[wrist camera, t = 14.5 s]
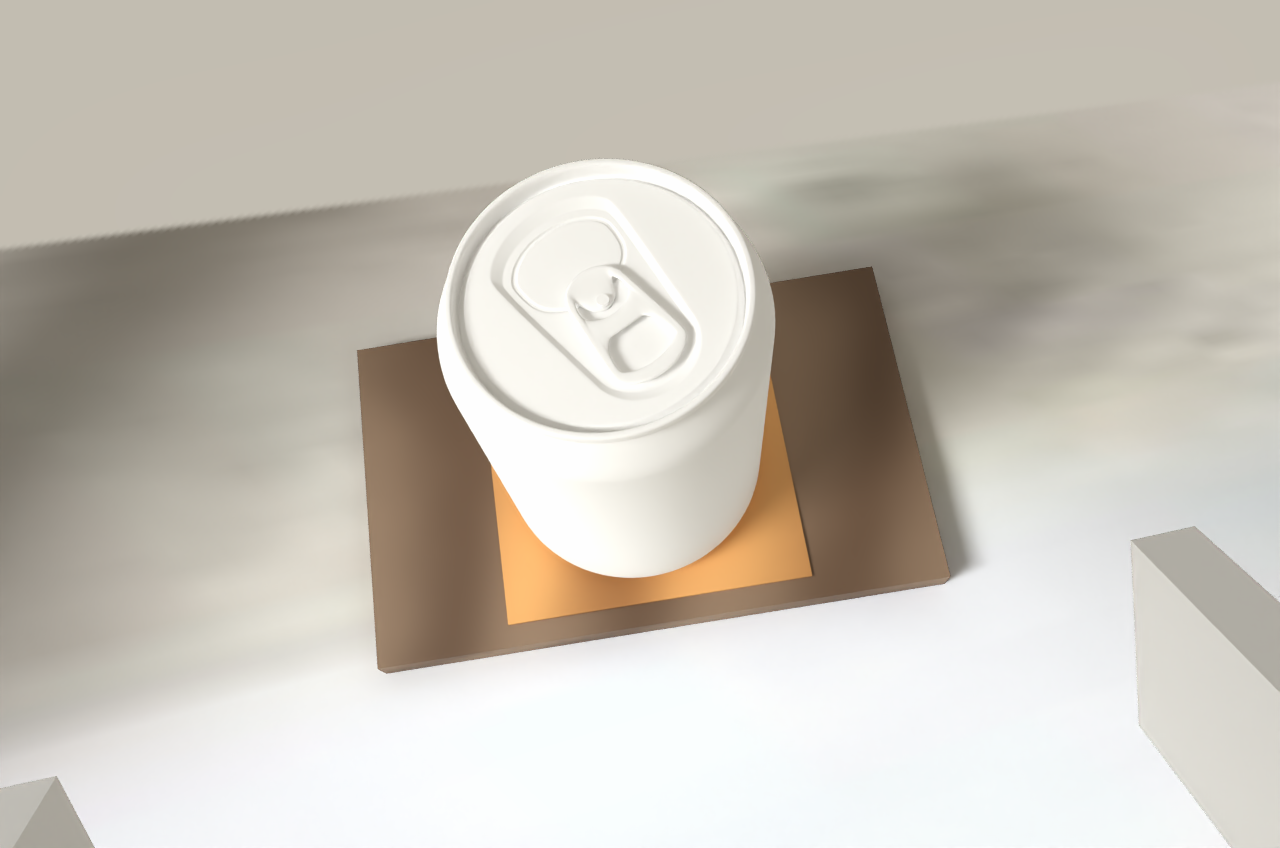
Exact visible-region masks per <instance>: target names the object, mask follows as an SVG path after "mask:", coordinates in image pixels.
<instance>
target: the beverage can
mask: <svg viewBox="0 0 1280 848" xmlns="http://www.w3.org/2000/svg"><path fill="white" fill-rule="evenodd" d="M774 337H775V308H774V300H773V295H772V290H771V286H770V282H769V279H768V276H767V273H766V270H765V268H764V265H763V263H762V261H761V259H760V257H759V255H758V253H757V251H756V249H755V248H754V246H753V244H752V243H751V241H750V240H749V239H748V237H747V236H746V234H745V233H744V232H743V231H742V229H741V228H740V227H739V226H738V225H737V223H736V222H735V221H734V220H733V219H732V218H731V217H730V215H729V214H728V213H727V212H726V210H725V209H724V208H723V207H722V206H721V205H720V204H719V203H718V202H717V201H716V200H715V199H714V198H713V197H712V196H711V195H709V194H708V193H707V192H706V191H705V190H703V189H702V188H700V187H699V186H698V185H696V184H695V183H693V182H691V181H690V180H688V179H686V178H684V177H683V176H681V175H679V174H676V173H674V172H672V171H670V170H667V169H664V168H662V167H659V166H655V165H652V164H648V163H644V162H639V161H633V160H626V159H608V158H604V159H588V160H581V161H575V162H570V163H566V164H562V165H558V166H555V167H552V168H549V169H546V170H544V171H541V172H539V173H536V174H534V175H532V176H530V177H528V178H526V179H524V180H522V181H520V182H519V183H517V184H515V185H514V186H512V187H511V188H509V189H508V190H506V191H505V192H504V193H502V194H501V195H500V196H499V197H497V198H496V199H495V200H494V201H493V202H492V203H491V204H489V205H488V206H487V207H486V208H485V209H484V210H483V211H482V213H481V214H480V215H479V216H478V217H477V218H476V220H475V221H474V222H473V223H472V225H471V226H470V227H469V229H468V230H467V232H466V233H465V235H464V237H463V238H462V240H461V242H460V244H459V246H458V248H457V250H456V252H455V254H454V257H453V259H452V262H451V265H450V268H449V272H448V276H447V279H446V282H445V285H444V288H443V292H442V296H441V300H440V305H439V310H438V319H437V345H438V354H439V360H440V365H441V369H442V373H443V376H444V379H445V382H446V384H447V387H448V389H449V392H450V394H451V396H452V398H453V400H454V402H455V404H456V405H457V407H458V409H459V410H460V412H461V414H462V416H463V417H464V419H465V421H466V422H467V424H468V426H469V427H470V429H471V431H472V432H473V434H474V436H475V438H476V439H477V441H478V443H479V444H480V446H481V448H482V449H483V451H484V453H485V454H486V456H487V458H488V460H489V461H490V463H491V465H492V466H493V468H494V470H495V471H496V473H497V475H498V476H499V478H500V480H501V481H502V483H503V485H504V487H505V488H506V490H507V492H508V493H509V495H510V497H511V498H512V500H513V502H514V503H515V505H516V507H517V508H518V510H519V512H520V514H521V515H522V517H523V519H524V520H525V522H526V523H527V525H528V526H529V527H530V529H531V530H532V531H533V533H534V534H535V535H536V536H537V537H538V538H539V539H540V541H541V542H542V543H543V544H545V545H546V546H547V547H548V548H549V549H550V550H552V551H553V552H554V553H555V554H557V555H558V556H560V557H561V558H563V559H564V560H566V561H568V562H570V563H572V564H574V565H576V566H578V567H580V568H583V569H585V570H588V571H591V572H594V573H597V574H602V575H606V576H612V577H622V578H640V577H650V576H656V575H661V574H664V573H668V572H671V571H674V570H677V569H680V568H682V567H685V566H687V565H689V564H691V563H693V562H695V561H697V560H698V559H700V558H702V557H703V556H705V555H706V554H708V553H709V552H710V551H712V550H713V549H714V548H715V547H717V546H718V545H719V544H720V543H721V542H722V541H723V540H724V539H725V538H726V537H727V536H728V535H729V534H730V533H731V532H732V530H733V529H734V528H735V527H736V525H737V524H738V523H739V521H740V520H741V518H742V516H743V515H744V513H745V511H746V509H747V507H748V505H749V503H750V501H751V498H752V496H753V493H754V490H755V487H756V483H757V479H758V473H759V466H760V458H761V450H762V441H763V432H764V424H765V415H766V407H767V398H768V389H769V381H770V372H771V364H772V355H773V347H774Z"/></svg>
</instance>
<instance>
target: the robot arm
mask: <svg viewBox="0 0 1280 848" xmlns="http://www.w3.org/2000/svg"><path fill="white" fill-rule="evenodd" d="M1131 558H1132V581H1133V604H1134V627H1135V649H1136V672H1137V695H1138V718H1139V726H1140V728H1141V729H1142V730H1143V732H1144V733H1145V734H1146V736H1147V737H1148V738H1149V740H1150V741H1151V742H1152V744H1153V745H1154V746H1155V748H1156V749H1157V750H1158V752H1159V753H1160V754H1161V756H1162V757H1163V758H1164V760H1165V761H1166V762H1167V763H1168V765H1169V766H1170V767H1171V769H1172V770H1173V771H1174V773H1175V774H1176V775H1177V777H1178V778H1179V779H1180V781H1181V782H1182V783H1183V785H1184V786H1185V787H1186V789H1187V790H1188V791H1189V793H1190V794H1191V795H1192V797H1193V798H1194V799H1195V801H1196V802H1197V803H1198V805H1199V806H1200V807H1201V809H1202V810H1203V811H1204V813H1205V814H1206V815H1207V816H1208V818H1209V819H1210V820H1211V822H1212V823H1213V824H1214V826H1215V827H1216V828H1217V830H1218V831H1219V832H1220V834H1221V835H1222V836H1223V838H1224V839H1225V840H1226V842H1227V843H1228V844H1229V846H1230V847H1231V848H1280V602H1278V601H1277V600H1276V599H1275V598H1274V597H1273V596H1272V595H1271V594H1270V593H1268V592H1267V591H1266V590H1265V589H1264V588H1263V587H1262V586H1261V585H1260V584H1258V583H1257V582H1256V581H1255V580H1254V579H1253V578H1252V577H1251V576H1249V575H1248V574H1247V573H1246V572H1245V571H1244V570H1243V569H1242V568H1241V567H1239V566H1238V565H1237V564H1236V563H1235V562H1234V561H1233V560H1232V559H1230V558H1229V557H1228V556H1227V555H1226V554H1225V553H1224V552H1223V551H1222V550H1220V549H1219V548H1218V547H1217V546H1216V545H1215V544H1214V543H1213V542H1212V541H1210V540H1209V539H1208V538H1207V537H1206V536H1205V535H1204V534H1203V533H1201V532H1200V531H1199V530H1198V529H1197V528H1196V527H1195V526H1194V527H1190V528H1185V529H1181V530H1176V531H1171V532H1167V533H1162V534H1158V535H1153V536H1149V537H1144V538H1140V539H1135V540H1131ZM0 848H95V847H94V846H93V844H92V842H91V840H90V838H89V836H88V834H87V832H86V830H85V829H84V827H83V825H82V823H81V821H80V819H79V817H78V815H77V814H76V812H75V810H74V808H73V806H72V804H71V802H70V800H69V798H68V797H67V795H66V793H65V791H64V789H63V787H62V785H61V783H60V781H59V780H58V778H57V776H55V777H51V778H46V779H41V780H37V781H32V782H28V783H23V784H19V785H14V786H10V787H5V788H0Z"/></svg>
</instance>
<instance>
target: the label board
mask: <svg viewBox="0 0 1280 848" xmlns="http://www.w3.org/2000/svg"><path fill="white" fill-rule="evenodd" d="M770 286H771V290H772V295H773V300H774V308H775V337H774V347H773V355H772V364H771V372H770V381H769V389H768V398H767V407H766V415H765V424H764V432H763V441H762V450H761V458H760V466H759V473H758V479H757V483H756V487H755V490H754V493H753V496H752V498H751V501H750V503H749V505H748V507H747V509H746V511H745V513H744V515H743V516H742V518H741V520H740V521H739V523H738V524H737V525H736V527H735V528H734V529H733V530H732V532H731V533H730V534H729V535H728V536H727V537H726V538H725V539H724V540H723V541H722V542H721V543H720V544H719V545H718V546H717V547H715V548H714V549H713V550H712V551H710V552H709V553H708V554H706V555H705V556H703V557H702V558H700V559H698V560H697V561H695V562H693V563H691V564H689V565H687V566H685V567H682V568H680V569H677V570H674V571H671V572H668V573H664V574H661V575H656V576H650V577H640V578H622V577H612V576H606V575H602V574H597V573H594V572H591V571H588V570H585V569H583V568H580V567H578V566H576V565H574V564H572V563H570V562H568V561H566V560H564V559H563V558H561V557H560V556H558V555H557V554H555V553H554V552H553V551H552V550H550V549H549V548H548V547H547V546H546V545H545V544H543V543H542V542H541V541H540V539H539V538H538V537H537V536H536V535H535V534H534V533H533V531H532V530H531V529H530V527H529V526H528V525H527V523H526V522H525V520H524V519H523V517H522V515H521V514H520V512H519V510H518V508H517V507H516V505H515V503H514V502H513V500H512V498H511V497H510V495H509V493H508V492H507V490H506V488H505V487H504V485H503V483H502V481H501V480H500V478H499V476H498V475H497V473H496V471H495V470H494V468H493V466H492V465H491V463H490V461H489V460H488V458H487V456H486V454H485V453H484V451H483V449H482V448H481V446H480V444H479V443H478V441H477V439H476V438H475V436H474V434H473V432H472V431H471V429H470V427H469V426H468V424H467V422H466V421H465V419H464V417H463V416H462V414H461V412H460V410H459V409H458V407H457V405H456V404H455V402H454V400H453V398H452V396H451V394H450V392H449V389H448V387H447V384H446V382H445V379H444V376H443V373H442V369H441V365H440V360H439V354H438V345H437V338H431V339H425V340H418V341H412V342H406V343H400V344H394V345H388V346H382V347H376V348H369V349H363V350H357V355H358V370H359V386H360V401H361V417H362V432H363V448H364V463H365V479H366V494H367V509H368V525H369V540H370V556H371V571H372V587H373V602H374V618H375V633H376V649H377V664H378V669H379V670H381V671H383V672H385V673H386V674H387V673H393V672H400V671H406V670H412V669H418V668H424V667H431V666H437V665H443V664H449V663H455V662H462V661H468V660H474V659H480V658H486V657H493V656H499V655H505V654H511V653H517V652H524V651H530V650H536V649H542V648H548V647H555V646H561V645H567V644H573V643H579V642H586V641H592V640H598V639H604V638H611V637H617V636H623V635H629V634H635V633H642V632H648V631H654V630H660V629H666V628H673V627H679V626H685V625H691V624H697V623H704V622H710V621H716V620H722V619H728V618H735V617H741V616H747V615H753V614H759V613H766V612H772V611H778V610H784V609H790V608H797V607H803V606H809V605H815V604H822V603H828V602H834V601H840V600H846V599H853V598H859V597H865V596H871V595H877V594H884V593H890V592H896V591H902V590H908V589H915V588H921V587H927V586H933V585H939V584H945V582H946V581H947V580H948V579H949V578H950V573H949V569H948V565H947V561H946V557H945V553H944V549H943V545H942V541H941V537H940V533H939V529H938V525H937V521H936V517H935V513H934V509H933V505H932V501H931V497H930V494H929V490H928V486H927V482H926V478H925V474H924V470H923V466H922V462H921V458H920V454H919V450H918V446H917V442H916V438H915V434H914V430H913V426H912V422H911V418H910V415H909V411H908V407H907V403H906V399H905V395H904V391H903V387H902V383H901V379H900V375H899V371H898V367H897V363H896V359H895V355H894V351H893V347H892V343H891V339H890V336H889V332H888V328H887V324H886V320H885V316H884V312H883V308H882V304H881V300H880V296H879V292H878V288H877V284H876V280H875V276H874V272H873V268H872V267H866V268H860V269H854V270H848V271H842V272H836V273H830V274H823V275H817V276H811V277H805V278H799V279H793V280H787V281H780V282H774V283H770Z"/></svg>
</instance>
